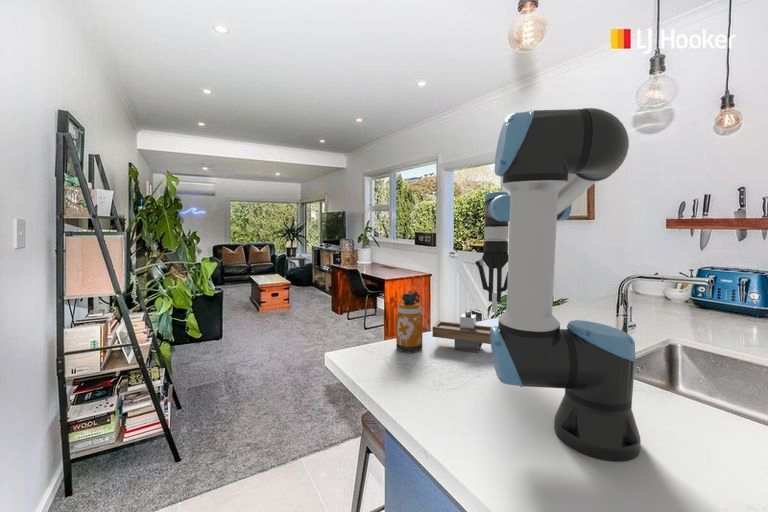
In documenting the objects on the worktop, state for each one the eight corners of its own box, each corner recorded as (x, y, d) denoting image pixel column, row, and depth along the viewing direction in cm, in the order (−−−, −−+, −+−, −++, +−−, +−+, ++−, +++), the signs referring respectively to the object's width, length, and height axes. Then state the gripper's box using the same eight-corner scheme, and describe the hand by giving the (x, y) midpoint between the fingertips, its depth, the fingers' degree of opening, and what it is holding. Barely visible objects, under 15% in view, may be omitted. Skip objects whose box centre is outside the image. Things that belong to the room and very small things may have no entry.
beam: (501, 357, 116) (502, 334, 115) (432, 347, 125) (432, 326, 125) (503, 349, 124) (504, 327, 123) (438, 340, 133) (438, 320, 132)
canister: (391, 351, 123) (391, 293, 121) (405, 341, 132) (405, 287, 130) (416, 355, 119) (416, 295, 117) (428, 345, 128) (428, 289, 126)
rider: (473, 332, 121) (473, 313, 120) (460, 331, 123) (460, 312, 122) (475, 328, 125) (476, 310, 124) (462, 327, 127) (463, 309, 126)
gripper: (518, 240, 118) (516, 310, 120) (477, 239, 123) (476, 307, 125) (516, 240, 111) (514, 315, 113) (473, 240, 116) (472, 312, 118)
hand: (494, 311), depth 119 cm, fingers closed
